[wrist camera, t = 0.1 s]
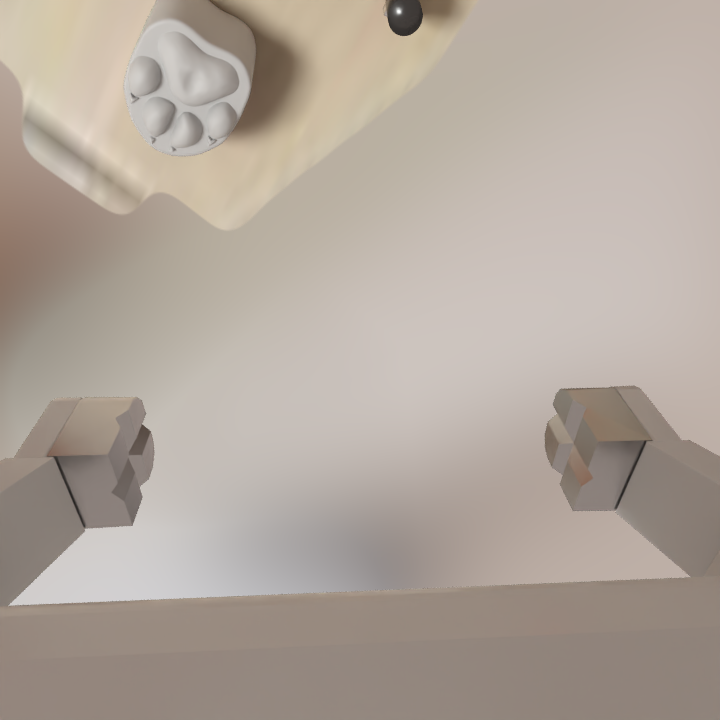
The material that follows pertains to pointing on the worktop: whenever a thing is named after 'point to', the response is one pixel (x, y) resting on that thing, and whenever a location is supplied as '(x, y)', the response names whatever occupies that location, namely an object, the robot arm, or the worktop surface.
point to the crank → (403, 15)
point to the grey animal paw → (189, 76)
